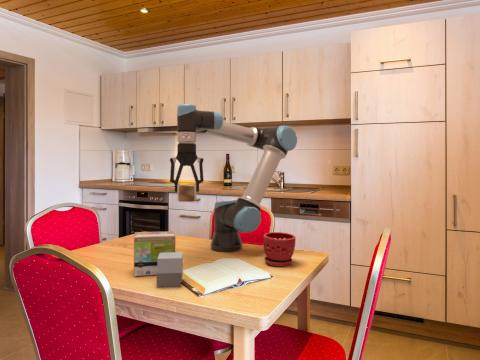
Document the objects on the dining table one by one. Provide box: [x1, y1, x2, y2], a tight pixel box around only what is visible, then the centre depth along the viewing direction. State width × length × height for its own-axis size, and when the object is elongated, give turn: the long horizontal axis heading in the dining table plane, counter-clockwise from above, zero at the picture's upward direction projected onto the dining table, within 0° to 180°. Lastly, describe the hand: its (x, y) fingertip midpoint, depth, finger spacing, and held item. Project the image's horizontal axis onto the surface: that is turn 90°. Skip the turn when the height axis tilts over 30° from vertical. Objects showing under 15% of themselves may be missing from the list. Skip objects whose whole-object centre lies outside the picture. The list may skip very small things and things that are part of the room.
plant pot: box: [263, 231, 296, 267], centre depth 151 cm, size 13×13×12 cm
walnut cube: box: [178, 185, 196, 202], centre depth 149 cm, size 6×6×6 cm
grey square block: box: [157, 251, 184, 274], centre depth 126 cm, size 8×8×5 cm
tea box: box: [133, 230, 177, 277], centre depth 139 cm, size 15×10×15 cm
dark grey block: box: [156, 268, 184, 289], centre depth 127 cm, size 8×8×5 cm
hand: (187, 199), depth 149 cm, fingers closed on walnut cube, 6 cm apart
